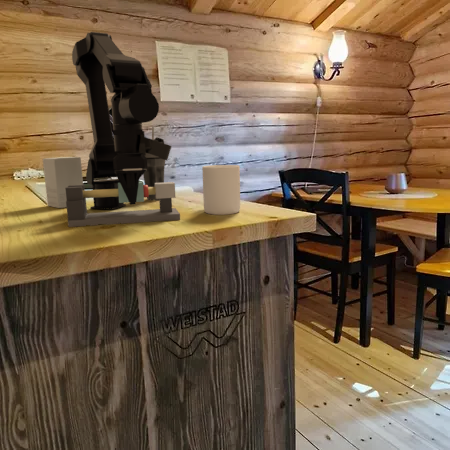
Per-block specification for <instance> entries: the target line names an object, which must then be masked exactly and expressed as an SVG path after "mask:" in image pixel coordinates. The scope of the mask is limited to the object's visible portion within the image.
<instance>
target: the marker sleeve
mask: <svg viewBox="0 0 450 450" xmlns="http://www.w3.org/2000/svg"><path fill="white" fill-rule="evenodd" d="M143 182H144V181H139V185H138V192H137V200H136V203H143V202H145V197H144V192H143V185H144V183H143ZM118 193H119V203H124V204H127V203H129V201H128V198H127V196H126V194H125V192H124V190H123V188H122V186H121V184H120V183H118Z"/></svg>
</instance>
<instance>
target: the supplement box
mask: <svg viewBox="0 0 450 450" xmlns="http://www.w3.org/2000/svg"><path fill="white" fill-rule="evenodd" d="M42 165H43V167H42V168H43V174H44V176H43V177H44V182H45V192H46V193H45V194H46V202H47V207H53V208H57V209H62V208H63V209H64V208H67V206H66V201H67V199H66V189H65V188H66V187H68V186H69V185H84V179H83V169H82V157H80V156H79V157H77V156H64V157H63V156H62V157H47V158H42Z"/></svg>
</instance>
